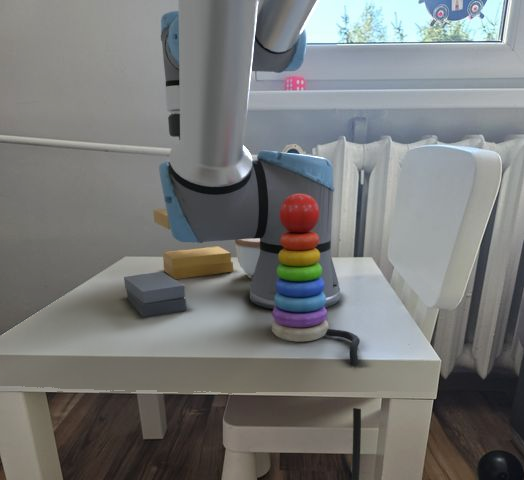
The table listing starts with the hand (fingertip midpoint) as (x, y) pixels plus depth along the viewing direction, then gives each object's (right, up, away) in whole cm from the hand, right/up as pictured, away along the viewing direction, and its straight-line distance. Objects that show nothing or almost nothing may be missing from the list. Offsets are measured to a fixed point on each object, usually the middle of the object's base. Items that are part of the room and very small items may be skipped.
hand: (196, 235), depth 101 cm
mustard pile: (0, -7, +3) cm, 7 cm away
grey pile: (-4, -16, -18) cm, 24 cm away
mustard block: (0, +2, -1) cm, 2 cm away
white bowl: (+14, -9, -1) cm, 16 cm away
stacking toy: (+19, -21, -31) cm, 42 cm away
